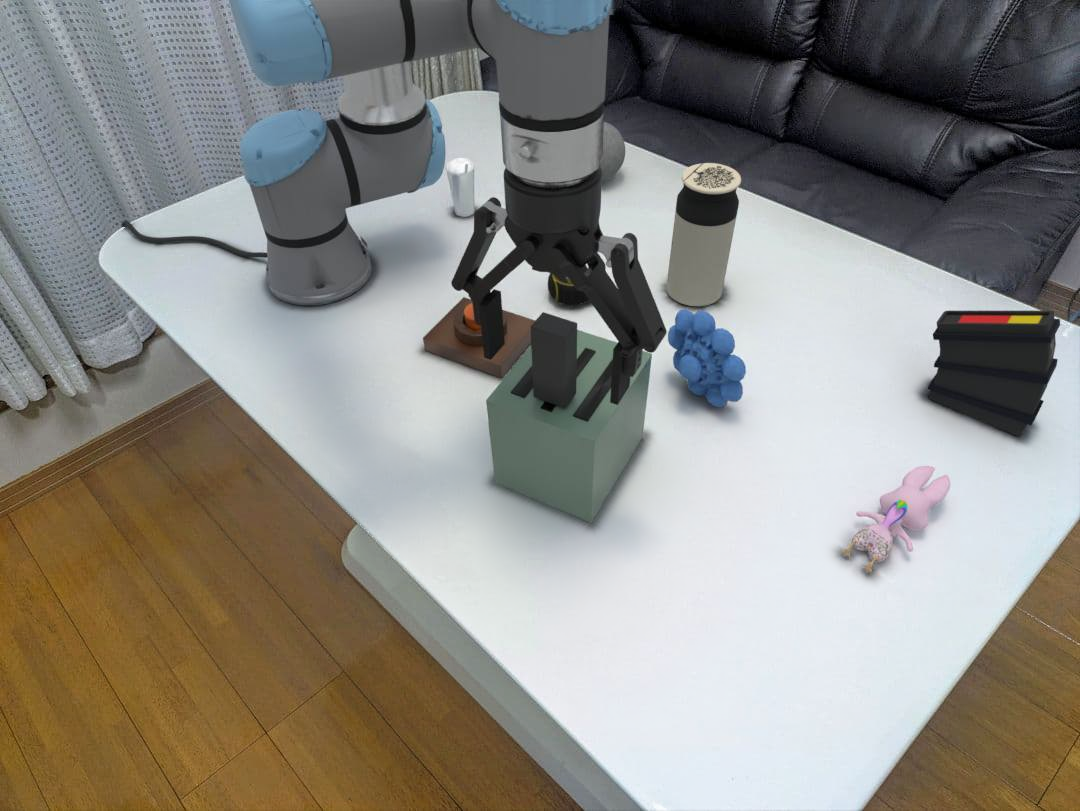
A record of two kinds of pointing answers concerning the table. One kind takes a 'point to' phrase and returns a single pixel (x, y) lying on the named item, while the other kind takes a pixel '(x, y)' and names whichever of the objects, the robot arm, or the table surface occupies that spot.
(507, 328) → the button block
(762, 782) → the table surface
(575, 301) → the tape measure
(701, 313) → the grapes
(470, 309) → the button
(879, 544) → the rabbit figure
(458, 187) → the milkshake
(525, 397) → the toaster
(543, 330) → the slider
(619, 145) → the decorative ball
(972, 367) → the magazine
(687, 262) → the travel mug
